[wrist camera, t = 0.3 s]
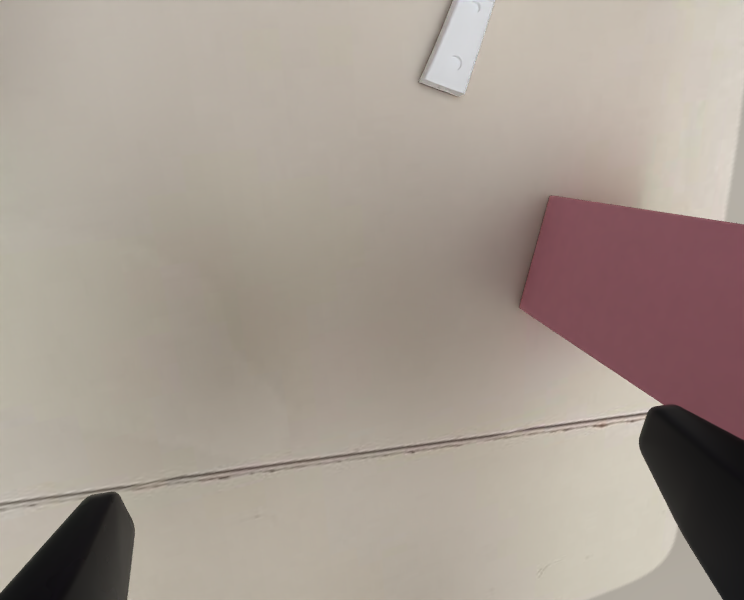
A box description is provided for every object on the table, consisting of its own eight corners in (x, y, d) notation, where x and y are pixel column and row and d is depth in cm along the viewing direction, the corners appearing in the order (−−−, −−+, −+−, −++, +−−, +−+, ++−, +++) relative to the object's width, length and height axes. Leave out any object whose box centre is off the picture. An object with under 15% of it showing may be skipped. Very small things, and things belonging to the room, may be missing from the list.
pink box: (605, 321, 23) (964, 510, 11) (518, 308, 22) (800, 497, 10) (640, 213, 22) (1089, 287, 10) (549, 194, 21) (914, 250, 9)
